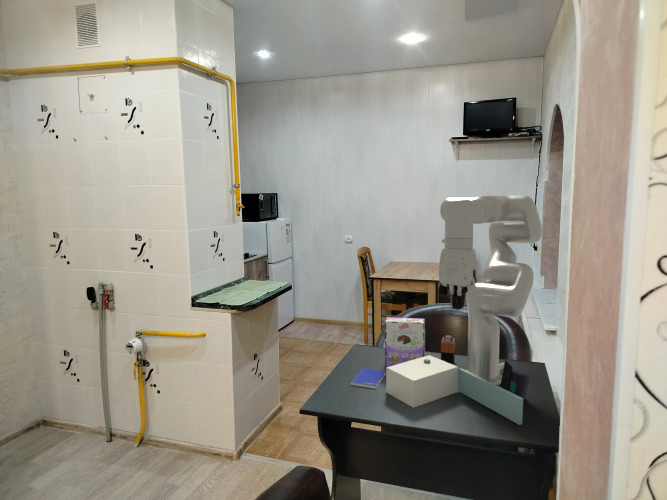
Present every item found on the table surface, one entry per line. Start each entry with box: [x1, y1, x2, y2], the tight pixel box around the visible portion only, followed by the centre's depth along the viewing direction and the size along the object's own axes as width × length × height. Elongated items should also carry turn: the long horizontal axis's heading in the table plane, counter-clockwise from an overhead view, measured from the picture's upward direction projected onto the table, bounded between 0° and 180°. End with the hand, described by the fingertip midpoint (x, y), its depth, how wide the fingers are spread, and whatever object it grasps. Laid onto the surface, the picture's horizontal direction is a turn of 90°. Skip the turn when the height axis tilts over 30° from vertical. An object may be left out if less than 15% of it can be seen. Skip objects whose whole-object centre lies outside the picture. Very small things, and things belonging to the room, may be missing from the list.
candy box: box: [384, 316, 426, 367], centre depth 159 cm, size 14×6×16 cm, turn 77°
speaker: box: [499, 359, 531, 402], centre depth 132 cm, size 8×6×10 cm
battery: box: [440, 334, 456, 365], centre depth 159 cm, size 4×7×10 cm, turn 162°
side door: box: [457, 367, 524, 426], centre depth 127 cm, size 24×2×7 cm, turn 26°
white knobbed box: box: [385, 354, 459, 409], centre depth 137 cm, size 19×12×9 cm, turn 123°
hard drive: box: [350, 367, 386, 390], centre depth 148 cm, size 2×8×12 cm
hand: (457, 308), depth 127 cm, fingers closed
